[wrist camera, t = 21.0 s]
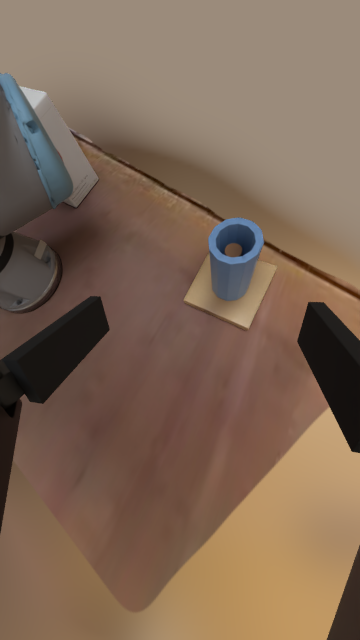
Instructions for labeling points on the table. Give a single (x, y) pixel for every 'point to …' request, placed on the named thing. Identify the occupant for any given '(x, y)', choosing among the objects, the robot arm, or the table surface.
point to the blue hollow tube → (234, 271)
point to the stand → (233, 310)
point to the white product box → (63, 145)
